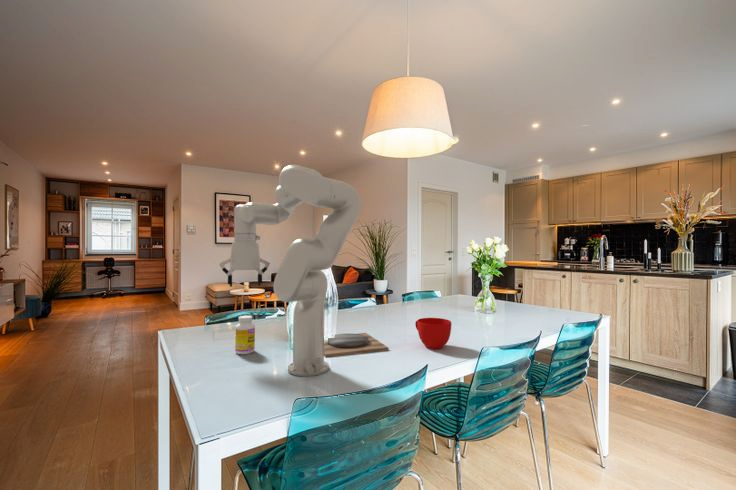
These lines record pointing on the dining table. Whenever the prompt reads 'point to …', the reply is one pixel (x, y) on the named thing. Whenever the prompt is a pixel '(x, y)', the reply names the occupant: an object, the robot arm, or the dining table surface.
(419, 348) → the dining table surface
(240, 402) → the dining table surface
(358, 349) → the mount board
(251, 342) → the supplement bottle
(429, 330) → the ceramic cup
